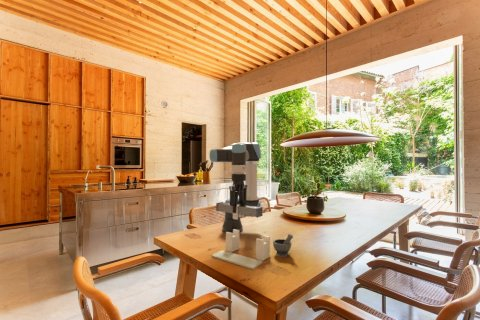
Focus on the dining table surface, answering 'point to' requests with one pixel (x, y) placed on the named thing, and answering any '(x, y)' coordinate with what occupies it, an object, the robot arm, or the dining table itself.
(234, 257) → the mat
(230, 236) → the beige bridge block
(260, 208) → the rail
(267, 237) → the beige u-shaped block
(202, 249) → the dining table surface
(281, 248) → the mortar and pestle
